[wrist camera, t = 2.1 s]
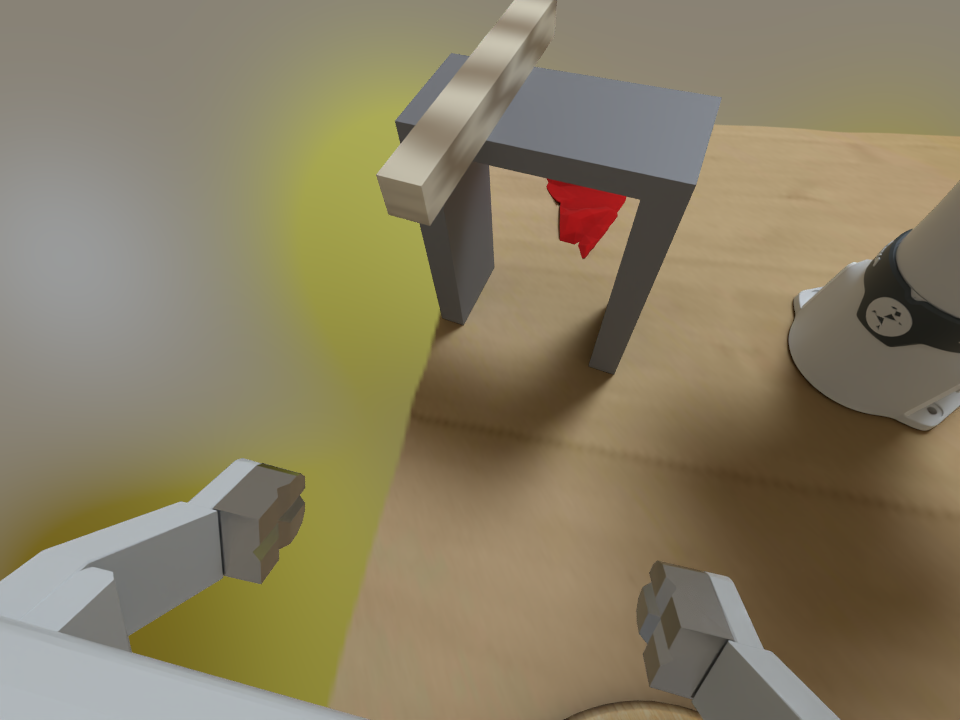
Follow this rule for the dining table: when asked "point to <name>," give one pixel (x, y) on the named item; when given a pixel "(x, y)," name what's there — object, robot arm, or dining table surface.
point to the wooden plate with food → (637, 712)
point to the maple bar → (465, 113)
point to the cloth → (584, 213)
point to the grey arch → (573, 179)
